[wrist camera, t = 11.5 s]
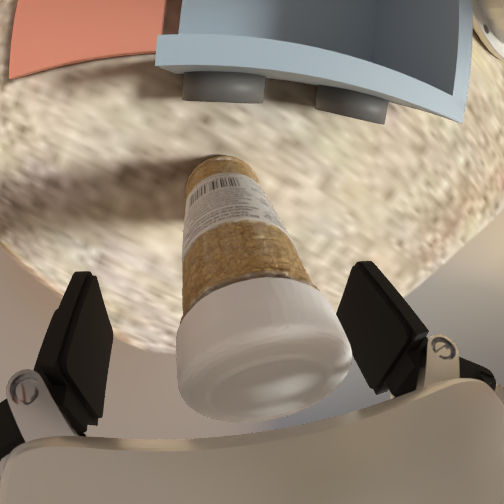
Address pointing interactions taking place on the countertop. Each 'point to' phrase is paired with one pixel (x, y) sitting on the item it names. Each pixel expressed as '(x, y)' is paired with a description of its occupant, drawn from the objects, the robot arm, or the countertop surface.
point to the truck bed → (326, 52)
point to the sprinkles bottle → (249, 306)
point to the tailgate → (81, 32)
